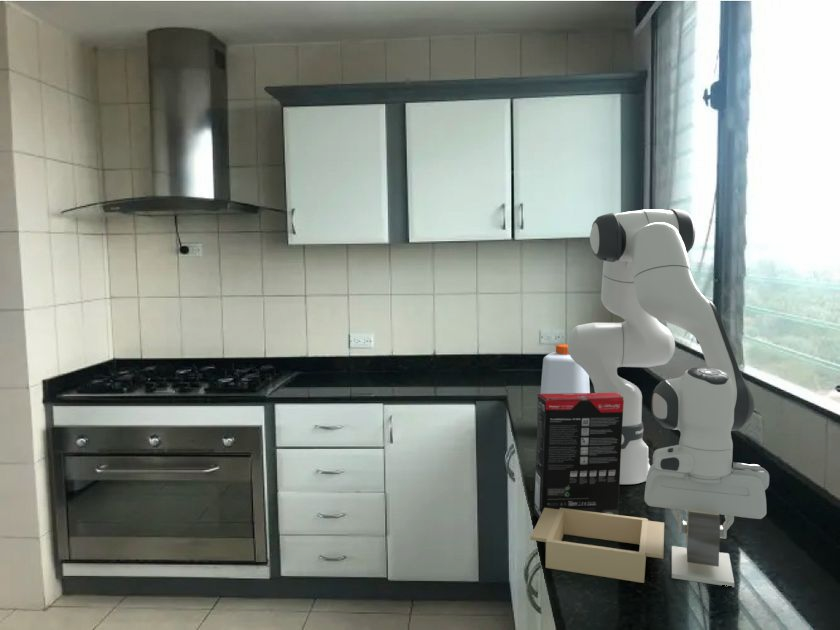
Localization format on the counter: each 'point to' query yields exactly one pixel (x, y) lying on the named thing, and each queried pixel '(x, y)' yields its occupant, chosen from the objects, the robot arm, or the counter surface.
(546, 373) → the plastic bottle
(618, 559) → the carton
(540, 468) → the graphics card box
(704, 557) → the block
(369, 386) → the counter surface
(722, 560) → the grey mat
